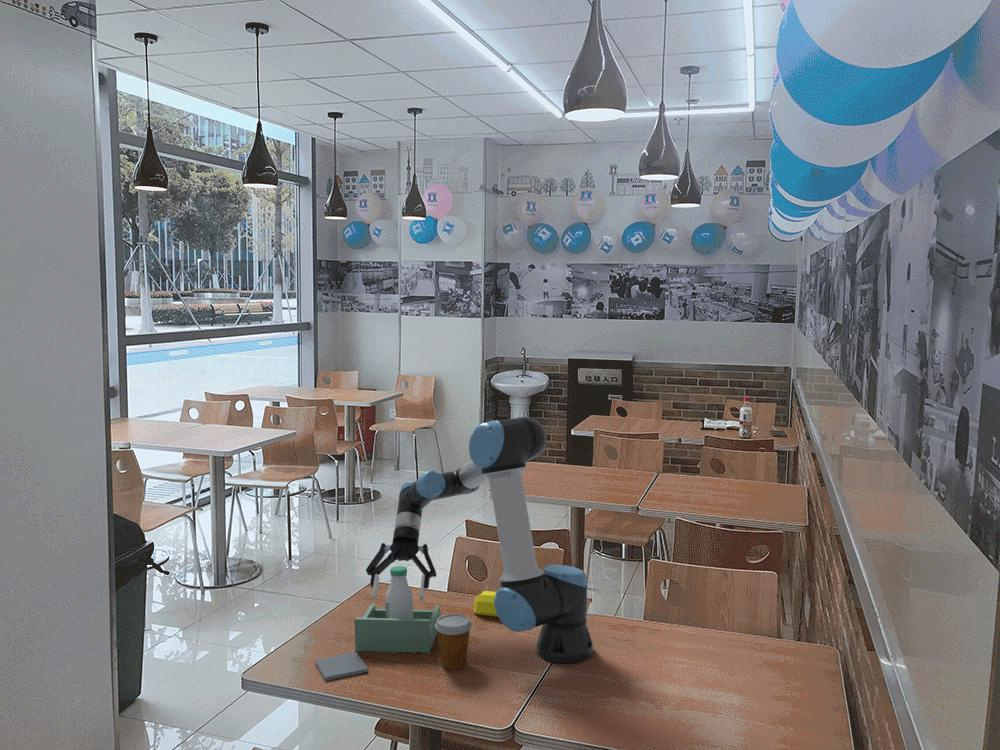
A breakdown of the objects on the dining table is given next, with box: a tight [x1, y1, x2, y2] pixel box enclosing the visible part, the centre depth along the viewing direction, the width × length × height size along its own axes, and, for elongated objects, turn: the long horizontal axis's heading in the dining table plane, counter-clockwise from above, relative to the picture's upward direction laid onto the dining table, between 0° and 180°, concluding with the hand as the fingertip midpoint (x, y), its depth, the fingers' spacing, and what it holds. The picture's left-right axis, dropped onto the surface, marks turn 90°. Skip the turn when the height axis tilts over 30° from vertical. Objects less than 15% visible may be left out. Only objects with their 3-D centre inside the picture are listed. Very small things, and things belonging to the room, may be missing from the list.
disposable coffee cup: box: [435, 613, 472, 670], centre depth 217 cm, size 10×10×12 cm
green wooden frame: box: [354, 603, 442, 654], centre depth 235 cm, size 20×20×9 cm
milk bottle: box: [385, 565, 414, 619], centre depth 234 cm, size 8×8×20 cm
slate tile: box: [314, 651, 369, 682], centre depth 216 cm, size 11×11×1 cm
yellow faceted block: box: [472, 590, 499, 618], centre depth 251 cm, size 18×7×8 cm
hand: (397, 598), depth 234 cm, fingers open, 13 cm apart
